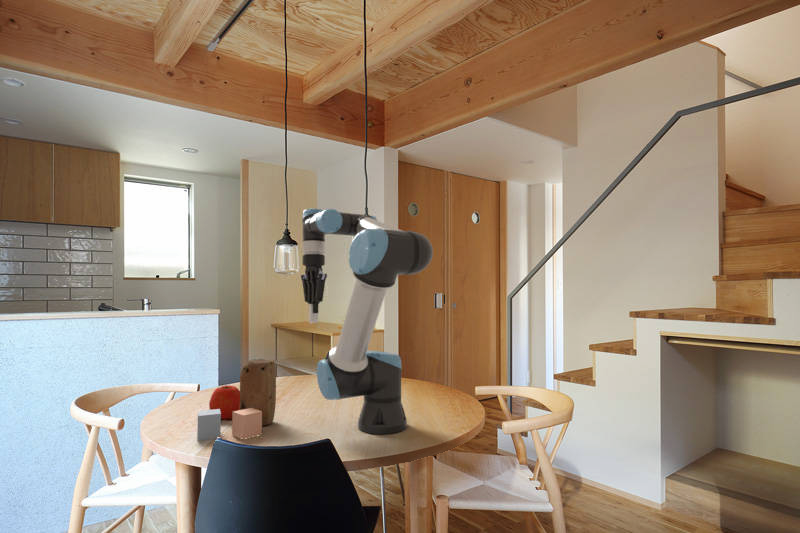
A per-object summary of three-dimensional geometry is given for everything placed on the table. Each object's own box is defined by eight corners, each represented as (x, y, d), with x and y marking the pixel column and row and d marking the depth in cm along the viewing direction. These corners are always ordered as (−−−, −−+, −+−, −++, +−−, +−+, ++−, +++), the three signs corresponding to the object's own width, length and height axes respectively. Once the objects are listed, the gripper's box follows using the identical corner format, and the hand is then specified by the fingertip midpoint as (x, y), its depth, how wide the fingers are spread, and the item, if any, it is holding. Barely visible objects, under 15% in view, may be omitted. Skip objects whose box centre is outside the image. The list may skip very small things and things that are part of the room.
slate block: (220, 438, 134) (220, 413, 134) (197, 441, 132) (198, 415, 132) (219, 432, 140) (219, 408, 140) (197, 435, 137) (197, 410, 137)
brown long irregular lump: (277, 420, 152) (278, 358, 153) (270, 427, 145) (271, 362, 146) (244, 420, 153) (245, 358, 154) (235, 426, 145) (236, 361, 146)
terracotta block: (261, 435, 137) (262, 411, 137) (242, 440, 132) (243, 415, 133) (250, 431, 141) (250, 407, 141) (232, 436, 136) (232, 411, 137)
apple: (209, 414, 160) (209, 383, 160) (242, 411, 163) (243, 380, 164) (208, 423, 150) (209, 389, 150) (243, 419, 153) (244, 386, 154)
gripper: (333, 253, 159) (333, 323, 157) (312, 256, 168) (312, 322, 167) (314, 252, 154) (314, 324, 152) (294, 255, 163) (293, 322, 162)
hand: (313, 323), depth 160 cm, fingers closed
